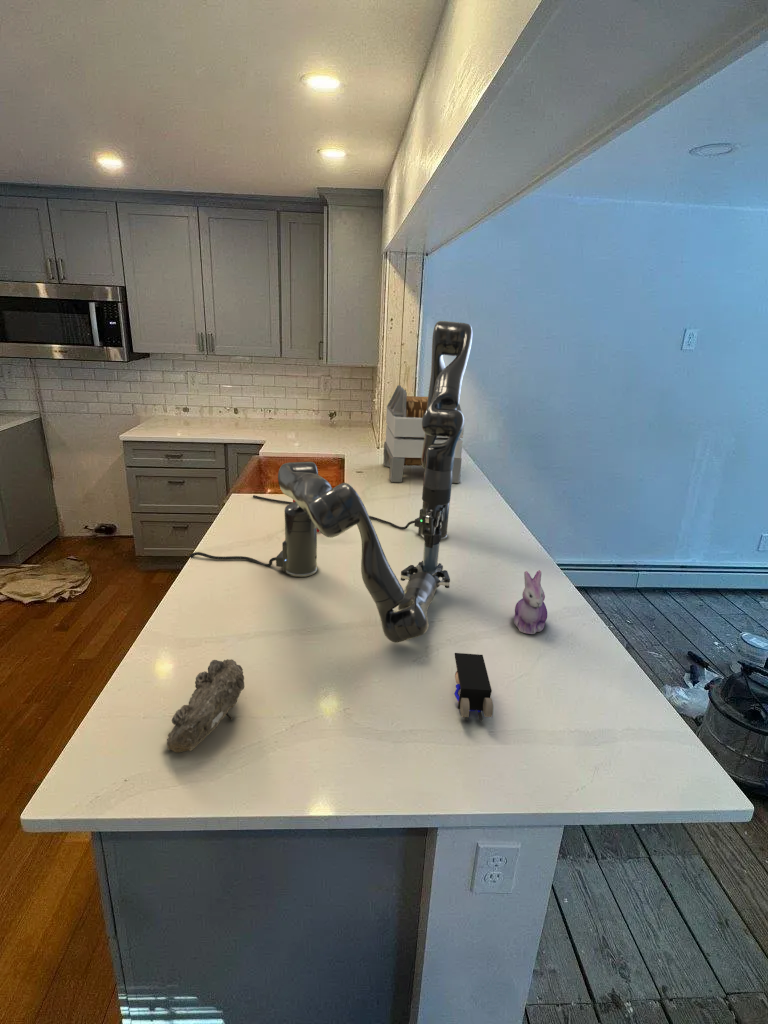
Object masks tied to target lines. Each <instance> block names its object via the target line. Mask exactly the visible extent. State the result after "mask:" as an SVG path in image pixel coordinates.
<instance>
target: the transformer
mask: <svg viewBox="0 0 768 1024" xmlns="http://www.w3.org/2000/svg"><path fill="white" fill-rule="evenodd" d="M407 394H408V393H407V390H406V389H404V388H403V387H402V385H399V384H398V385H397V386H396V388H395V390H394V392H393V394H392V395H391V398H390V400H389V402H388V404H387V405H386V413H385V414H386V415H385V423H386V428H385V438H384V442H383V466H384V467H388V468H389V475H388V476H389V477H388V478H389V480H390V482H391V483H402V482H403V475H404V469H405V466H406V467H407V466H411V467H412V466H413V467H415V466H416V467H417V466H418V467H422V462H421V457H422V449H423V443H424V437H425V432H424V431H423V428H422V418H423V415H424V413H425V411H426V409H427V403H428V396H415V395H414V396H413V395H412V396H411V395H407ZM457 410H459V411H460V412H461V413H462V414H463V411H462V408H461V405H460V404H459V405H458V406H457ZM464 422H465V419H464ZM464 429H465V425H464V426H463V429H462V431H461V434H460V436H459V439H458V441H457V444H456V447H455V457H454V465H453V471H452V484H455V483H456V484H459V483H461V472H462V461H463V460H462V453H463V442H464V441H463V440H462V439H463V438H464V431H465V430H464ZM448 438H449V437H441V436H437V438H436V440H435V442H434V443H444V442H446V441H447V440H448Z"/></svg>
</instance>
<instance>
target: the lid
mask: <svg viewBox="0 0 768 1024" xmlns="http://www.w3.org/2000/svg"><path fill="white" fill-rule="evenodd" d="M428 530H430V529H428ZM425 540H426V534H424V538H423V542H425ZM441 541H442V540H441V532H440V531H439V530H435V534H434V544H435V543H439V542H440V543H441Z"/></svg>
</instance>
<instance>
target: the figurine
mask: <svg viewBox="0 0 768 1024" xmlns="http://www.w3.org/2000/svg"><path fill="white" fill-rule="evenodd" d="M523 575H524V588H523V590H522V596H521V597H522V598H521V599H519V600H518V601H517V602H516V604H515V607H514V615H513V623H514V626H515V627H516V628H517V629H518V631H519V632H520V633H523V634H529V635H535V634H536V633H540V632H542V631H543V630H544V628H545V625H546V621H547V620H548V610H547V606H546V604H545V602H544V601H545V598H546V594H545V592H544V588H543V586H542V583H541V581H542V570H541V569H538V570H537V571H536V572H535V575H534V577H532V576H531V574H530V573H529V572H528V571H527V570H525V571H524V573H523Z"/></svg>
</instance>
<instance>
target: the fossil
mask: <svg viewBox="0 0 768 1024" xmlns="http://www.w3.org/2000/svg"><path fill="white" fill-rule="evenodd" d="M243 670H244V669H243V667H242V665H240V664H237V662H236V661H235V660H234V659H232V658H231V659H227V658H226V659H224V660H223V661H222V660H217V659H212V660H211V661H210V663H209V665H208V666H207V671H201V672H199V673H198V674H197V675H196V676H195V680H194V684H195V685H194V687H195V689H194V690H193V693H192V694H191V697H190V698H189V700H188V704H184V705H182V706H181V707H180V709H177V710H176V711H175V713H174V715H173V716H172V718H171V723H172V724H173V727H172V730H171V731H170V732H168V734H167V738H166V741H167V742H166V745H167V749H168V750H169V751H173V752H174V753H176V754H178V753H182V752H188V751H189V752H192V751H193V750H195V748H196V747H197V746H199V744H200V743H201V742H203V741H204V740H205V739H206V738H207V737H208V736H209V735H210V734H211V733H212V732H214V730H215V729H217V727H218V726H219V724H220V722H221V721H222V720H223V719H224V718H225V716H226V717H227V719H229V720H233V717H232V715H230V714H229V710H230V709H231V708H234V706H235V704H236V703H237V702H238V699H239V697H240V695H241V693H242V691H243V690H245V689H244V688H245V675H244V671H243Z"/></svg>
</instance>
